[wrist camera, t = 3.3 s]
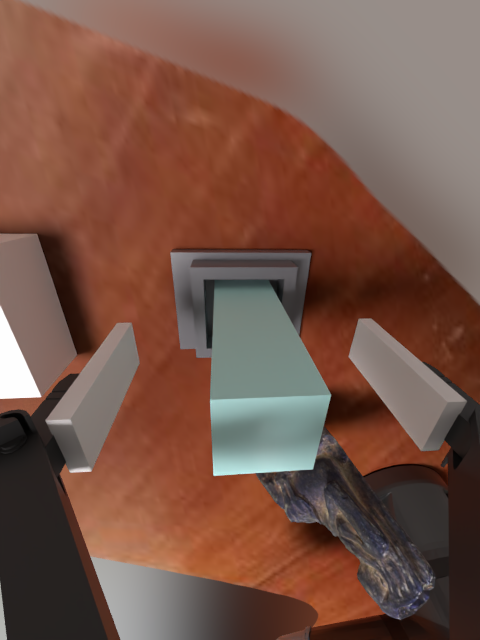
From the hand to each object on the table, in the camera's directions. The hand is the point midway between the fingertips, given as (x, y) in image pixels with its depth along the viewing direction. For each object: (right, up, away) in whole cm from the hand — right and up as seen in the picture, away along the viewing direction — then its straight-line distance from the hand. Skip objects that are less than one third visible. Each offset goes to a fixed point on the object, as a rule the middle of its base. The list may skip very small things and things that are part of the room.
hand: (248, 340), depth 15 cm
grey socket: (0, +3, +6) cm, 6 cm away
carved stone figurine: (+4, -9, +13) cm, 16 cm away
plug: (0, +2, +5) cm, 5 cm away
